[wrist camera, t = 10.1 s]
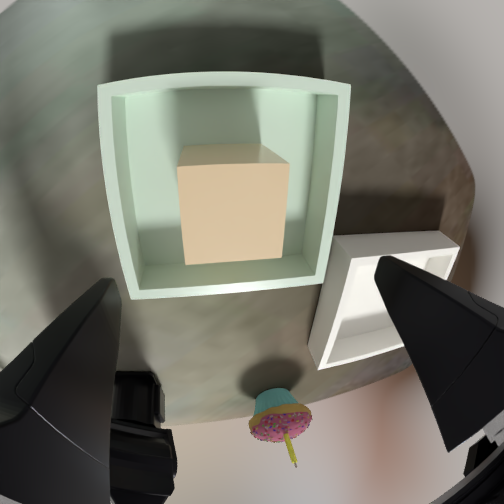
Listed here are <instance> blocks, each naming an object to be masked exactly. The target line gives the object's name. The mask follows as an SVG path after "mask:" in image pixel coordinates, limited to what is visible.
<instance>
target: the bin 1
mask: <svg viewBox="0 0 504 504" xmlns="http://www.w3.org/2000/svg"><path fill="white" fill-rule="evenodd" d="M350 92H351V85H350V84H345V83H340V82H334V81H329V80H323V79H317V78H310V77H302V76H294V75H285V74H273V73H259V72H190V73H175V74H164V75H155V76H147V77H140V78H133V79H127V80H121V81H116V82H110V83H106V84H101V85H98V118H99V133H100V145H101V155H102V164H103V172H104V179H105V186H106V192H107V199H108V205H109V210H110V216H111V221H112V226H113V231H114V235H115V240H116V244H117V249H118V253H119V257H120V261H121V265H122V269H123V273H124V277H125V280H126V284H127V287H128V291H129V294H130V298H131V300H133V299H152V298H169V297H184V296H198V295H211V294H223V293H234V292H245V291H256V290H266V289H276V288H285V287H294V286H303V285H312V284H320V283H323V282H324V277H325V272H326V267H327V263H328V258H329V252H330V247H331V242H332V237H333V231H334V225H335V220H336V214H337V207H338V201H339V194H340V188H341V181H342V173H343V165H344V157H345V149H346V140H347V130H348V119H349V107H350ZM241 143H260V144H263V145H264V146H266V147H267V148H269V149H270V150H271V151H273V152H274V153H276V154H277V155H279V156H280V157H281V158H283V159H284V160H286V161H287V162H288V163H290V169H289V182H288V195H287V207H286V218H285V229H284V240H283V250H282V258H272V259H259V260H246V261H233V262H219V263H205V264H192V265H185V257H184V248H183V239H182V229H181V218H180V206H179V193H178V178H177V165H178V162H179V158H180V155H181V152H182V149H183V146H188V145H205V144H241Z"/></svg>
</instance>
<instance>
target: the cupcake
mask: <svg viewBox="0 0 504 504" xmlns="http://www.w3.org/2000/svg"><path fill="white" fill-rule="evenodd" d="M311 419H312V415H311V411H310V410H309V408H307V407H306V406H304V405H302V404H299V403H298V402H297V401H296V400H295V399H294V398H293V396H292V395H291V394H290V392H289V391H288V390H287V389H284V388H274V389H270V390H267V391H264V392H262V393H261V394H259V395H258V396H257V398H256V405H255V412H254V416H253V418H252V419H251V420H250V421H249V428H250V430H251V432H250V433H251V434H252V435H254V437H255V438H257V439H260V440H261V441H262V440H263V441H267V442H268V441H271V442H274V443H275V442H283V441H285V442H286V446H287V449H288V451H289V455H290V458H291V461H292V463H294V464H295V467H296V468H297V465H296V462H297V459H296V456H295V453H294V450H293V447H292V444H291V441H290V439H293V438H295V437H297V436H298V435H299V434H301V433H302V432H304V431H305V430H306V428H308V426H309V423H310V422H311Z"/></svg>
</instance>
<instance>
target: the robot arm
mask: <svg viewBox="0 0 504 504" xmlns="http://www.w3.org/2000/svg"><path fill="white" fill-rule="evenodd" d="M374 281H375V283H376V286H377V288H378V290H379V293H380V295H381V297H382V300H383V302H384V305H385V307H386V309H387V312H388V314H389V316H390V318H391V320H392V322H393V324H394V326H395V328H396V330H397V332H398V334H399V336H400V338H401V340H402V342H403V344H404V346H405V348H406V350H407V352H408V355H409V357H410V359H411V361H412V363H413V365H414V368H415V370H416V372H417V374H418V376H419V379H420V381H421V383H422V386H423V388H424V390H425V393H426V395H427V398H428V400H429V402H430V405H431V408H432V411H433V413H434V416H435V418H436V421H437V424H438V427H439V430H440V432H441V435H442V438H443V441H444V444H445V447H446V449H447V452H448V453H449V452H450V451H452V450H453V449H455V448H456V447H458V446H459V445H461V444H462V443H464V442H465V441H466V440H468V439H469V438H470V437H472V436H473V435H474V434H475V433H477V432H478V431H479V430H480V429H483V430H484V432H485V435H484V436H483V437H482V438H481V439H479V440H478V441H477V442H476V443H475V444H473V445H472V446H471V447H470V448H469V452H468V456H467V461H466V466H465V469H464V476H465V478H464V479H463V480H461V481H460V482H459V483H458V484H456V485H455V486H454V487H452V488H451V489H450V490H448V491H447V492H446V493H444V494H443V495H441V496H440V497H439V498H437V499H436V500H434V501H433V502H431V503H430V504H504V308H503V307H501V306H499V305H496V304H494V303H492V302H490V301H488V300H486V299H484V298H482V297H479V296H477V295H475V294H473V293H471V292H469V291H467V290H465V289H463V288H461V287H459V286H457V285H455V284H453V283H451V282H449V281H447V280H444V279H442V278H440V277H438V276H436V275H434V274H432V273H429V272H427V271H425V270H423V269H421V268H418V267H416V266H414V265H412V264H409V263H407V262H405V261H403V260H400V259H398V258H396V257H394V256H391V255H386V256H381V257H380V258H379V260H378V264H377V267H376V270H375V273H374ZM121 305H122V304H121V297H120V294H119V291H118V288H117V285H116V282H115V280H114V279H113V278H102V279H100V280H99V281H98V282H97V283H96V284H94V285H93V286H92V287H91V288H90V289H89V290H87V291H86V292H85V293H84V294H83V295H82V296H80V297H79V298H78V299H77V300H76V301H75V302H74V303H73V304H71V305H70V306H69V307H68V308H67V309H66V310H65V311H64V312H63V313H61V314H60V315H59V316H58V317H57V318H56V319H55V320H54V321H53V322H52V323H51V324H50V325H49V326H47V327H46V328H45V329H44V330H43V331H42V332H41V333H40V334H39V335H38V336H37V337H36V338H35V339H34V340H33V343H32V342H31V343H30V344H29V345H28V346H27V347H26V348H25V349H24V350H23V351H22V352H21V353H20V354H19V355H18V356H17V357H16V358H15V359H14V360H13V361H12V362H10V363H9V364H8V365H7V366H6V367H5V368H4V369H3V370H2V371H1V372H0V504H111V503H112V504H164V502H165V501H166V499H167V498H168V496H171V494H172V492H173V490H174V481H173V478H175V476H176V473H177V456H176V451H175V446H174V441H173V436H172V430H171V429H161V425H160V423H164V422H165V395H164V393H163V390H162V388H161V386H160V385H159V384H158V383H157V381H156V379H155V377H154V374H153V373H151V372H115V371H116V364H117V357H118V349H119V336H120V319H121ZM110 501H111V502H110Z"/></svg>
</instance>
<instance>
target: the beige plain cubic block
mask: <svg viewBox="0 0 504 504" xmlns="http://www.w3.org/2000/svg"><path fill="white" fill-rule="evenodd" d="M289 169H290V163H288V162H287V161H286V160H284V159H283V158H281V157H280V156H279V155H277V154H276V153H274V152H273V151H271V150H270V149H269V148H267V147H266V146H264V145H263V144H260V143H241V144H205V145H188V146H183V149H182V152H181V155H180V158H179V162H178V165H177V178H178V193H179V206H180V218H181V229H182V239H183V248H184V257H185V265H192V264H205V263H219V262H233V261H246V260H259V259H272V258H282V250H283V240H284V229H285V218H286V207H287V195H288V182H289Z"/></svg>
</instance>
